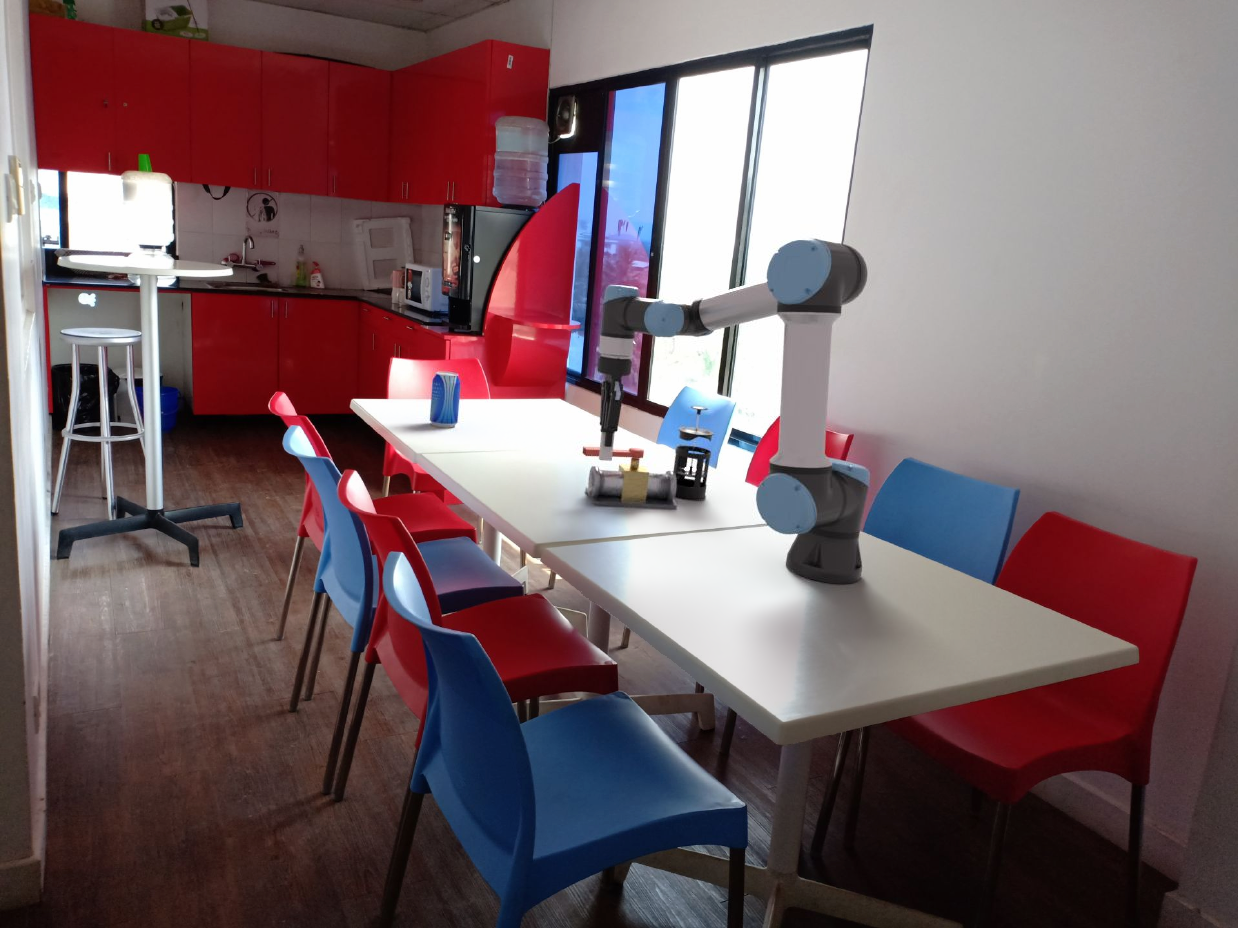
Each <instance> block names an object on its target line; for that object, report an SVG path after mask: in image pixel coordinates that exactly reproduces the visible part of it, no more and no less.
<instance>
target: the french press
mask: <svg viewBox="0 0 1238 928" xmlns="http://www.w3.org/2000/svg"><path fill="white" fill-rule="evenodd" d="M690 408H691V409H693V410H696V415H697V418H696V424H695V425H696V426H695V427H693V426H680V427H678V431H679V435H678V438H679V439H681V440H683V441H685V442H686V441H687V442H690V441H693V440H694V441H693V445H687V444H679V445H677V446H676V447H675V453H674V454H675V456H674V465H673V471H674V472H675V475H676V481H677V488H676V495H675V499H680V500H684V501H694V502H698V501H704V500H706V498H707V495H706V492H707V491H706V490H707V479H708V473H709V465H710V459H711V457H712V450H710V449H707V448H705V447H701V446H696V441H697V438H703V439H707V440H709V442H712V437H713V436H715V435H714V434H715V432H713V431H712V430H709V429H705V428H701V427H699V418H700V415H702V414H701V413H702V411H708V410H709V409H708V408H707V407H705V406H700V405H693V406H690ZM688 459H691V462H690V466H689V467H688V466H687V465H688ZM694 459H695V460H696V466H695V467H693V461H694ZM704 462H705V463H704ZM687 477H688V478H687ZM693 478H694V479H693Z"/></svg>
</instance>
